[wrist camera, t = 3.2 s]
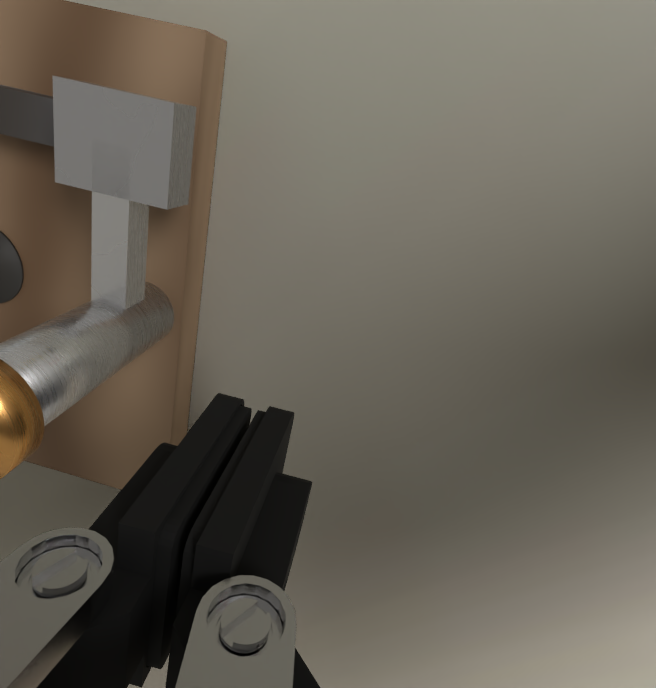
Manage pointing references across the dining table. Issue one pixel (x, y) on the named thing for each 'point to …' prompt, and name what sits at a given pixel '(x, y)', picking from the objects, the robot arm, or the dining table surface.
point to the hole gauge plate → (76, 218)
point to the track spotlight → (99, 254)
